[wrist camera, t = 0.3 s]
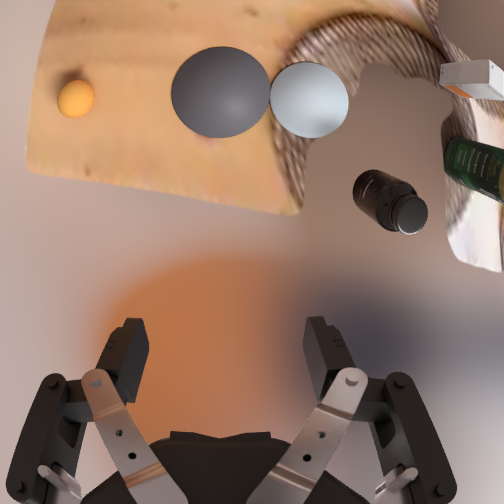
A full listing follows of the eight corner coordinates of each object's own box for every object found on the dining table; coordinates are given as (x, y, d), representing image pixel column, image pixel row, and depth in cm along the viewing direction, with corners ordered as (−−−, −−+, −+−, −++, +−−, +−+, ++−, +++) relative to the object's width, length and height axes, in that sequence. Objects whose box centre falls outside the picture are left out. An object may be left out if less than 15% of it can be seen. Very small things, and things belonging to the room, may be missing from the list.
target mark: (176, 48, 30) (175, 47, 30) (273, 51, 31) (273, 50, 31) (169, 137, 35) (169, 137, 35) (266, 140, 36) (266, 140, 36)
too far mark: (273, 57, 32) (273, 57, 31) (350, 70, 32) (350, 70, 32) (266, 133, 36) (267, 133, 36) (344, 143, 37) (344, 143, 37)
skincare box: (438, 85, 33) (488, 83, 22) (440, 63, 31) (488, 57, 20) (461, 99, 34) (510, 102, 23) (463, 78, 32) (511, 77, 21)
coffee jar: (436, 171, 39) (517, 204, 22) (449, 130, 36) (533, 148, 19) (468, 191, 41) (540, 228, 24) (480, 154, 38) (555, 179, 21)
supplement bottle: (348, 172, 39) (388, 191, 28) (388, 166, 39) (435, 183, 28) (353, 216, 42) (389, 248, 31) (390, 208, 42) (434, 237, 31)
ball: (71, 85, 30) (51, 82, 25) (102, 79, 31) (84, 74, 26) (69, 120, 32) (49, 121, 27) (99, 115, 33) (81, 115, 28)
